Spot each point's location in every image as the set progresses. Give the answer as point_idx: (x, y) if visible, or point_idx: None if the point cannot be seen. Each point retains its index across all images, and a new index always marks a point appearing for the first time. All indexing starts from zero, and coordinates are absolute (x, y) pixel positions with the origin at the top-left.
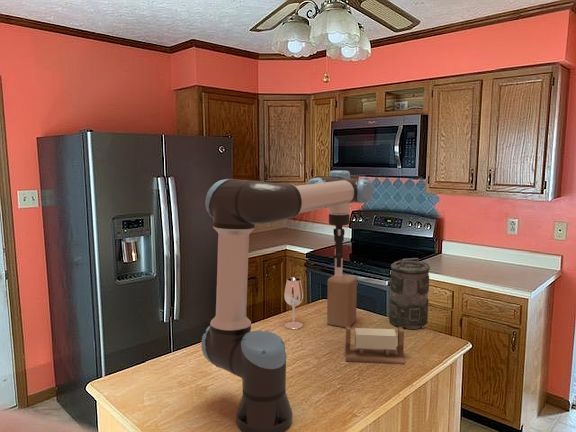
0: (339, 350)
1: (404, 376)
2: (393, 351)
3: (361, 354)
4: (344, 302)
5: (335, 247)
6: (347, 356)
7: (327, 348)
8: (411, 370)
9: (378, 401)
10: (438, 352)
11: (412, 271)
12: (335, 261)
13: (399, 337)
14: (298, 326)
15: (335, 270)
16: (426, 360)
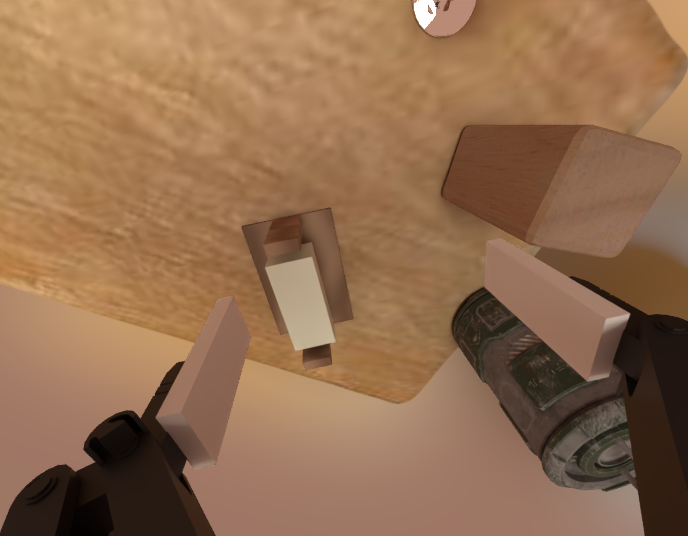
0: (297, 198)
1: None
2: None
3: None
4: (483, 200)
5: (643, 335)
6: (263, 226)
7: (298, 164)
8: (260, 343)
9: (110, 309)
10: (352, 373)
11: (545, 460)
12: (176, 386)
13: (303, 351)
14: (430, 22)
15: (208, 327)
16: None
